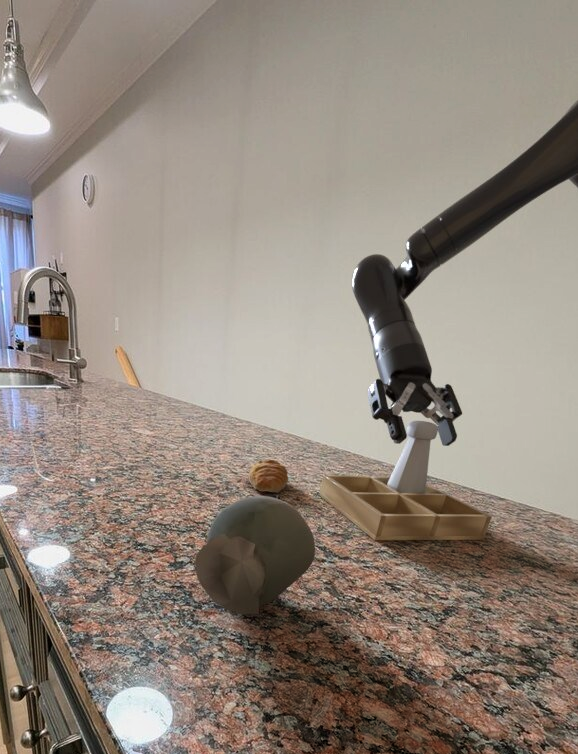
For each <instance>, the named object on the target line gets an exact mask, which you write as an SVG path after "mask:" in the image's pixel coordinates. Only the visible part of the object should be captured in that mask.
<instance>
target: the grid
mask: <svg viewBox="0 0 578 754" xmlns="http://www.w3.org/2000/svg"><path fill="white" fill-rule="evenodd" d="M390 477H391V476H382V475H380V476H379V475H345V474H344V475H341V474H340V475H339V474H323V475H322V478H321V479H322V480H321V484H320V489H319V493H318V495H319V496H320V497H321V498H322V499H323V500H325V501H326V502H327V503H328V504H329V505H331V506H332V507H333V508H335V509H336V510H337V511H338V512H340V514H342V515H343V516H344V517H345V518H347V520H349V521H350V522H352V523H353V524H354V525H355V526H357V527H358V528H359V529H360V530H362V531H363V532H364V533H365V534H366V535H367V536H369V537H370V538H372V539H373V541H472V540H473V541H478V540H479V541H481V540H482V541H483V540H484V539H485V537H486V534H487V531H488V528H489V526H490V524H491V521H492V515H490V514H488V513H486V512H484V511H482V510H480V509H478V508H477V507H474V506H472V505H470V504H468V503H466V502H464V501H462V500H460V499H458V498H456V497H454V496H452V495H450V494H448V493H446V492H444V491H443V490H441V489H439V488H437V487H434V486H432V485H431V484H429V483H427V482H426V491H425V493H400V492H398V491H396V490H395V489H393V488H391V487H389V486H388V485H387V483H388V481H389V479H390Z"/></svg>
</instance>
